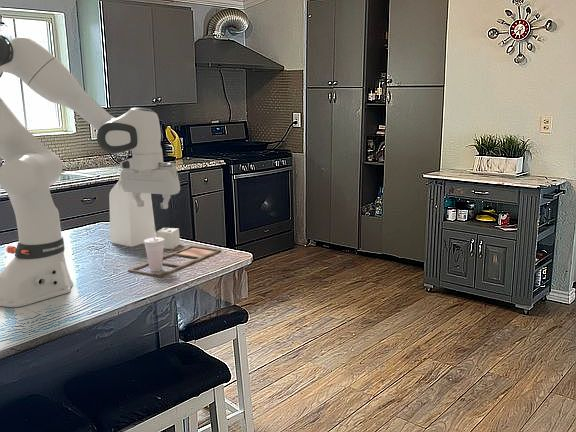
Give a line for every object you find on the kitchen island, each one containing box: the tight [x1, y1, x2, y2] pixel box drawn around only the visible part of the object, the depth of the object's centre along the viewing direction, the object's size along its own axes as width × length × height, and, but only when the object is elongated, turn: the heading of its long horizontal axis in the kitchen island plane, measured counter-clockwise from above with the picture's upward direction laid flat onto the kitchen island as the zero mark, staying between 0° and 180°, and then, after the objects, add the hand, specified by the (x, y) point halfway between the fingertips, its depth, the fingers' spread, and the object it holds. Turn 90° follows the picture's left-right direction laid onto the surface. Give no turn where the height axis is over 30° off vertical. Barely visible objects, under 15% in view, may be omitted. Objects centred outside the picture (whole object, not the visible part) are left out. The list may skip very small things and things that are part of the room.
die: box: [156, 227, 181, 250], centre depth 206 cm, size 6×6×6 cm
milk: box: [108, 172, 157, 248], centre depth 212 cm, size 12×12×26 cm
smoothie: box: [143, 225, 165, 272], centre depth 178 cm, size 6×6×14 cm
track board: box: [127, 245, 222, 279], centre depth 188 cm, size 31×13×1 cm, turn 150°
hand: (152, 207), depth 175 cm, fingers open, 8 cm apart
